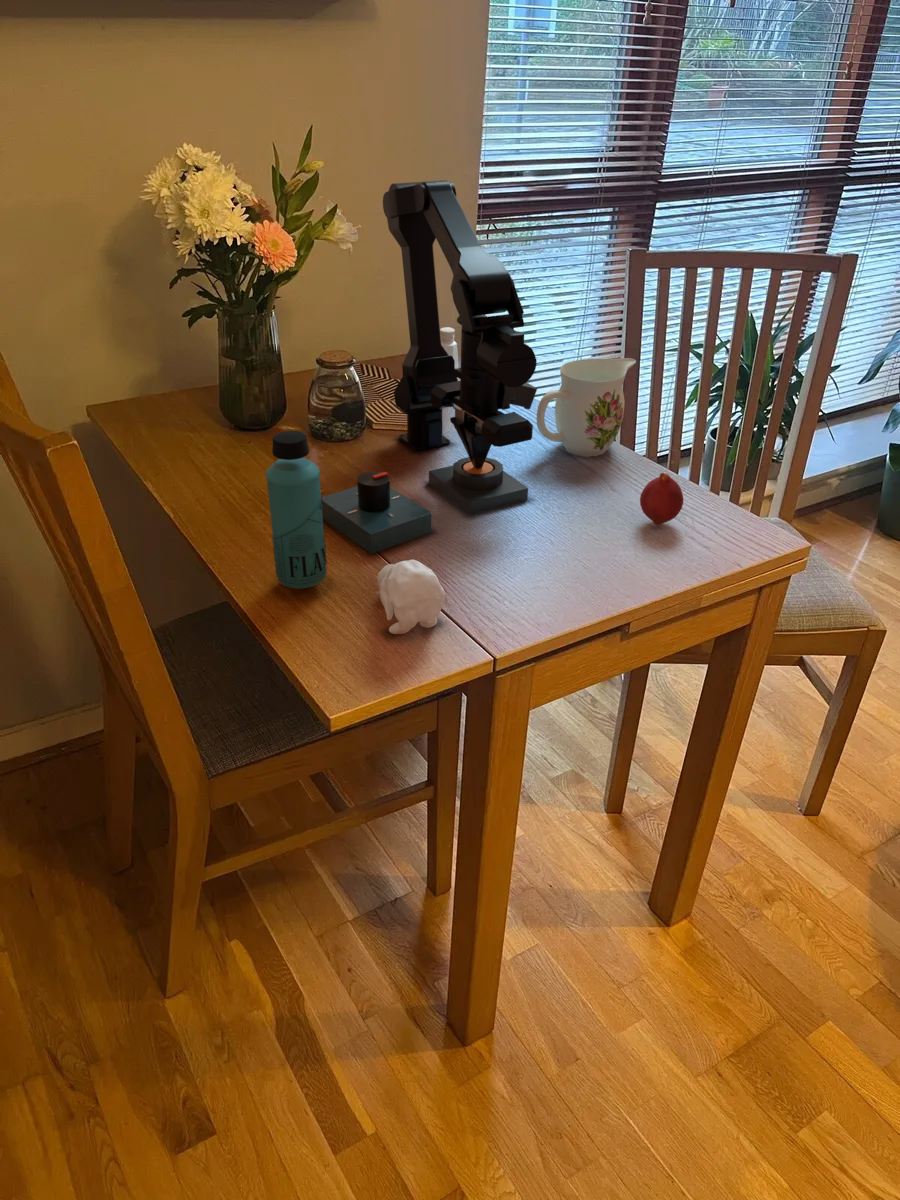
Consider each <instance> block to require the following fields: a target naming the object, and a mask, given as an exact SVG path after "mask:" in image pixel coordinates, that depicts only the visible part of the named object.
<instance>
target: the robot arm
mask: <svg viewBox="0 0 900 1200" xmlns="http://www.w3.org/2000/svg"><path fill="white" fill-rule="evenodd" d="M382 208H383V209H382V210H383V213H384V216H385V217H386V220H387V226H388V227H387V228H388V230H389V233H390V234H391V235H392V237H393V238H394V240H395V241H396V242H397V244H398V245H399V247H400V251H401V259H402V260H401V261H402V269H403V270H402V271H403V281H404V290H405V291H404V293H405V302H406V311H407V322H408V330H409V331H408V333H409V345H410V347H409V349H408V351H407V353H406V355H405V358H404V360H403V362H402V365H401V366H402V377H401V378H400V380H399V382H398V384H397V386H396V387H395V389H394V391H393V395H394V403H395V407H397V408H398V409H400V410H401V411H402V412H403V413H404V414H405V415H406V429H407V430H406V432H405V433H402V434H399V435H398V439H399V440H401V441H402V442H403V443H405V444H406V445H407V446H409V447H410V448H411V449H413V450H414V451H416V452H421V451H425V450H430V449H434V448H439V447H442V446H447V445H451V440H450V439H449V438H447V437H446V436H444V435H443V430H444V429H443V425H444V424H443V410H444V409H445V408H453V409H454V416H452V417H450V419H449V421H450V423H452V425H453V427H454V429H455V431H456V433H457V435H458V437H459V439H460V441H461V443H462V445H463V447H464V449H465V451H466V454H467V456H468V457H469V458H470V460H471V462H472V464H473V466H474V467H475V468H476V469H478V468H482V467H483V464H484V462H485V459H486V457H487V458H488V455H489V452H490V451H491V450H490V449H491V447H492V446H493V447H496V448H497V447H499V448H502V447H505V446H509V445H510V446H511V445H514V444H515V445H516V444H520V443H523V442H529V441H531V440H532V439H533V429H534V424H533V423H531V421H530V420H528V419H527V418H525V417H524V416H522V415H521V414H518V413H517V412H515V411H513V412H508V413H507V412H506V413H504V412H503V411H505V410H509V409H511V405H512V406H518V407H521V408H524V409H525V410H531V408H532V405H533V402H534V400H535V397H536V394H537V391H538V388H537V387H536V386H534V385H533V384H530V383H529V381H530V380H531V378H532V377H533V376H534V374H535V371H536V368H537V363H538V362H537V360H538V359H537V358H536V354H535V351H534V350H533V348H532V347H531V346H530V345H528V344H527V343H525V334H524V333H523V332H521V331H519V330H517V331H516V330H515V329H516V328H517V329H518V328H523V327H524V326H525V322H524V317H523V315H524V313H525V311H524V309H523V306H522V303H521V300H520V298H519V295H518V292H517V289H516V284H515V282H514V281H515V280H514V279H513V277H512V276H511V274H510V272H509V271H508V269H507V268H506V267H505V266H504V264H503V263H502V261H501V260H500V259H499V258H498V257H497V256H494V255H492V254H491V253H489V252H487V251H485V249H484V248H483V247H482V245H481V243H480V241H479V239H478V237H477V235H476V233H475V231H474V228H473V227H472V225H471V223H470V222H469V221H470V220H468V217H467V216H466V214H465V212H464V209H463V207H462V206H461V204H460V202H459V200H458V199H457V189H456V187H455V185H454V183H453V182H451V181H448V180H429V181H415V182H414V181H413V182H411V181H409V182H395V183H391V184H390V186H389V187H388V191H385V192H384V193H383V196H382ZM435 241H437V244H438V245H439V247H440V249H441V251H442V253H443V255H444V257H445V259H446V261H447V263H448V266H449V267H450V271H451V273H452V279H451V284H450V292H451V294H452V300H453V304H454V306H455V309H456V311H457V314H458V317H456V322H457V324H458V325H461V330H460V333H461V336H460V337H461V338H460V367H459V368H457V369H455V361H454V359H453V357H452V356H451V355H450V356H449V355H448V354H447V352H446V351H445V349H444V348H443V346H442V345H441V337H440V329H441V327H440V314H439V302H438V293H437V292H438V291H437V290H438V289H437V281H436V280H437V279H436V267H435V256H434V243H435ZM505 312H507V313H506V314H501V313H505ZM494 314H497V315H494ZM498 314H499V315H498ZM487 315H488V316H487ZM457 378H459V379H460V381H458V379H457ZM501 410H502V411H501Z"/></svg>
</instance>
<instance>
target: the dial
mask: <svg viewBox="0 0 900 1200" xmlns="http://www.w3.org/2000/svg"><path fill="white" fill-rule="evenodd" d="M356 482H357V483H356V484H357V485H356V486H358V506H359V508H360V509H362V510H364V511H367V512H381V511H384V510H386V509H388V508H389V507H390V488H391V478H390V476H389V473H388V472H386V471H384V472H381V471H380V472H379V471H368V472H364V473H361V474H360V475H359V476H357V478H356Z"/></svg>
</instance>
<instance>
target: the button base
mask: <svg viewBox="0 0 900 1200" xmlns="http://www.w3.org/2000/svg"><path fill="white" fill-rule="evenodd" d="M469 462H471V460H470V458H469V456H468V457H463V458H460V459H458V460H457V461H455V462H454V463H453V464H452V465H449V466H445V467H440V468H436V469H432V470H429V471H428V484H429V485H430V486H432V487H434V489H436V490H438V491H439V492H440V493H441V494H442V495H443V496H445V497H446V498H447V499H449V500H450V501H451V502H452V503H453V504H455V505H456V506H458V507H459V508H460V509H461V510H463V511H464V512H465V513H466V514H467V515H470V516H471V515H474V514H477V513H478V514H479V513H482V512H486V511H490V510H493V509H499V508H502V507H505V506H509V505H513V504H517V503H521V502H524V501H528V496H529V487H528V486H526V485H525V484H523V483H522V482H521V481H519V480H518V479H516V478H514V477H513V476H512V475H510V474H509V473H507V472H506V471H504V465H503V463H501V462H500V461H499V460H497V459H493V458H490V457H488V456H487V457H486V459H485V462H486V463H489V464H491V465H492V466H493V471H492V472H491V473H487V474H472V473H468V472H465V471H464V470H463V466H464V465H465V464H466V463H469Z"/></svg>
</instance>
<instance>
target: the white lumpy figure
mask: <svg viewBox="0 0 900 1200" xmlns="http://www.w3.org/2000/svg"><path fill="white" fill-rule="evenodd" d="M377 586H378V588H379V589H378V590H377V589H376V592H374V593H375V594H376V595H378V596H377V598H380V603H381V604H382V606H383V608H384V611H385V615H386V619H387V621H391V620H392V619H393V618H394V616H395V618H396V620H397V622H395V623H393V624H391V625H390V626H389V627H388V632H389V633H390V634H393V635H403V634H406V633H408V632H409V631H410V630H412V629H413V628H414V627H416V626H417V624H418V623H419V625H420V626H421V627H423V628H424V629H425V628H426V629H431V628H432V627H434V626H435V625H437V623H438V616H437V615H439V613H440V612H441V611H442V608H443V604H444V599H445V589H444V588H443V586H442V585H441V583H440V580H439V577H438V576H437V575H436V573H435V572H434V571H433V570H432V569H431V568H430V567H428V566H426V565H425V564H424V563H422V562H420V561H418V560H416V559H409V560H401V561H399V562H395V563H388V564H386V565H385V566H384V567H382V568H381V569H380V571H379V572H378V574H377Z"/></svg>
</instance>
